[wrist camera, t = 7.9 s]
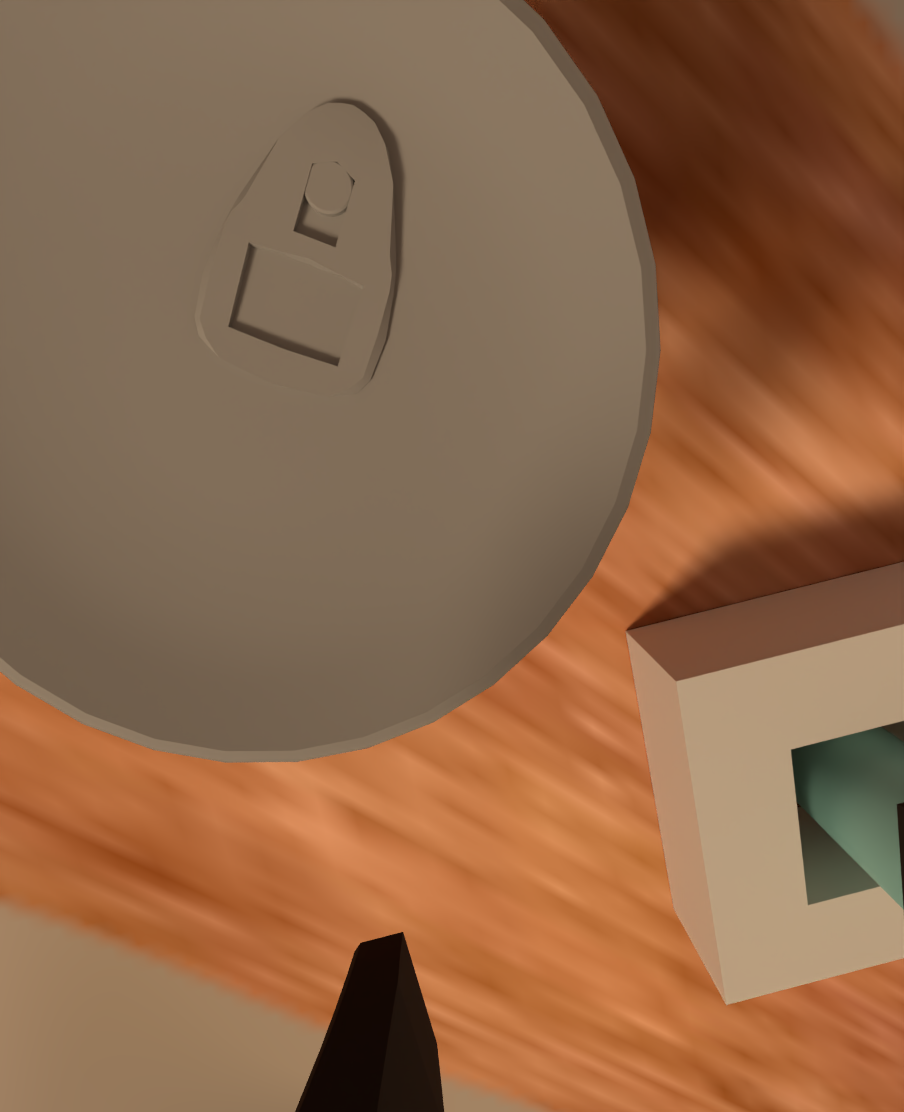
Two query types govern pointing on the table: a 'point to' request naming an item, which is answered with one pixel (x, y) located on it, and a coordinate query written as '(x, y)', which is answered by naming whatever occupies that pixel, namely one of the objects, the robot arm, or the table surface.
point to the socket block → (770, 775)
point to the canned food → (305, 361)
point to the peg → (857, 798)
